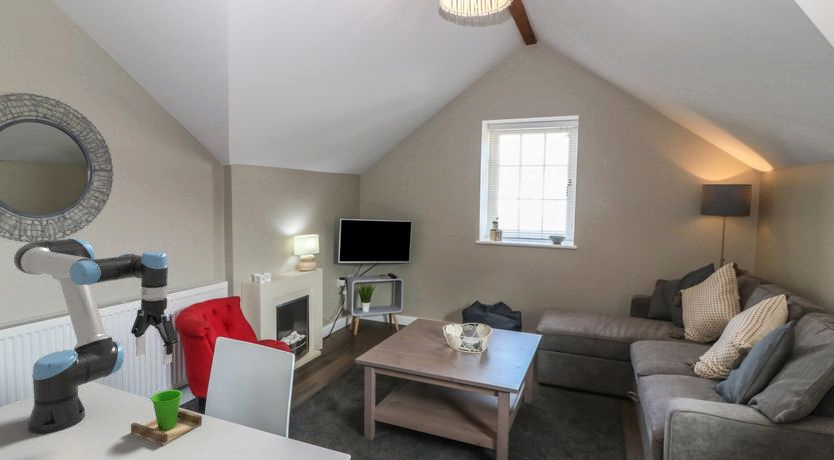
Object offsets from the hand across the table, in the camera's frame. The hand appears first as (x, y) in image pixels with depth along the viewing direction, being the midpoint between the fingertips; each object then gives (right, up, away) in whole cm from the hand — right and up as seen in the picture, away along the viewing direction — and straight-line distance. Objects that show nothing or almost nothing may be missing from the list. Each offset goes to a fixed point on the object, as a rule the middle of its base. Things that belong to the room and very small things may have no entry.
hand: (153, 358), depth 149 cm
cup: (+5, -23, -1) cm, 23 cm away
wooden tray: (+5, -24, -1) cm, 24 cm away
